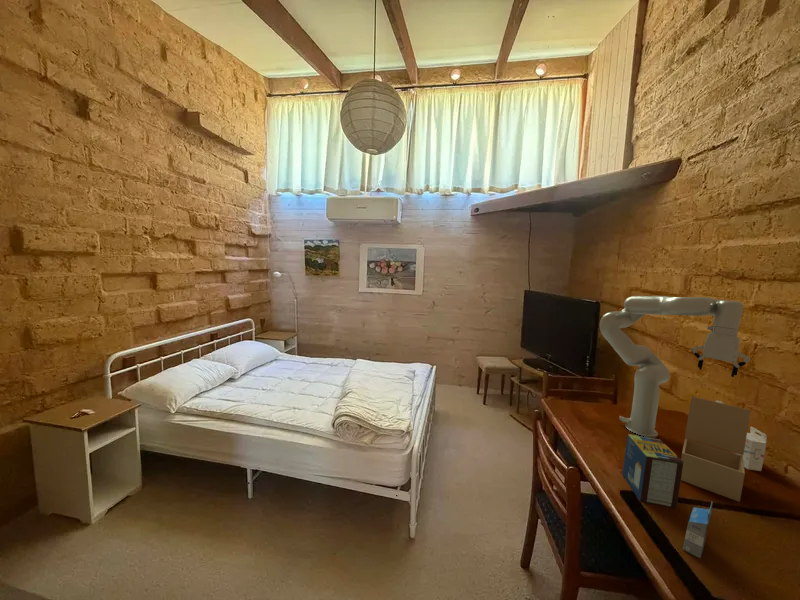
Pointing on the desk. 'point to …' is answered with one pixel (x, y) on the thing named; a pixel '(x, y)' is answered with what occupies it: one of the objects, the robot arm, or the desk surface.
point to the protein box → (652, 470)
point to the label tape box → (697, 531)
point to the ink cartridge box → (754, 450)
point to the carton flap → (717, 424)
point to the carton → (713, 469)
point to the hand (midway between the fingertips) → (716, 372)
